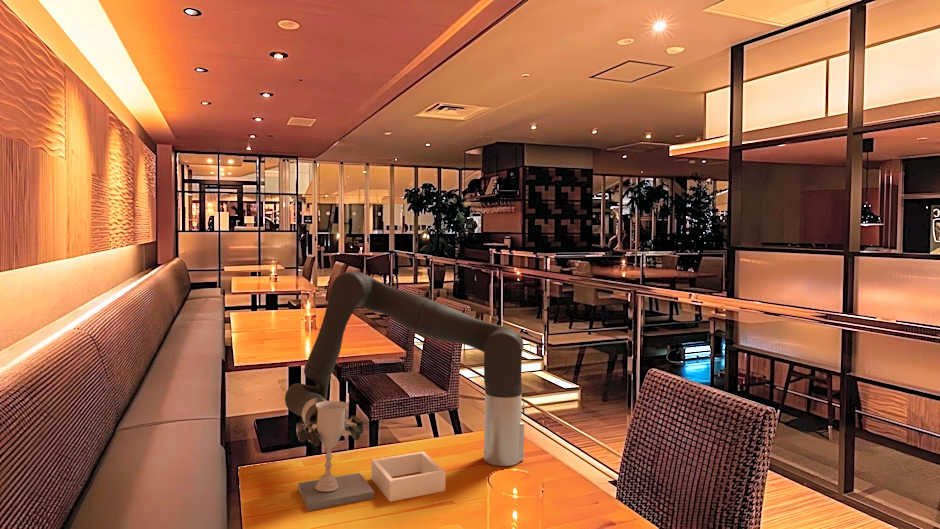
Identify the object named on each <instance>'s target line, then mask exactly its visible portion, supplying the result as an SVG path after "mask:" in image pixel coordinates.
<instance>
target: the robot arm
mask: <svg viewBox="0 0 940 529" xmlns="http://www.w3.org/2000/svg"><path fill="white" fill-rule="evenodd" d="M357 307H360V308H365V309H369V310H371V311H374V312H379V313H381V314H383V315H385V316H388V318H391V319H392V320H393V321H395V322H396V323H398V324H399V325H401V326H402V327H404V328H406V329H408V330H410V331H411V332H414V333H417V334H420V335H421V336H424V337H427V338H430V339H433V340H437V341H443V342H448V343H454V344H455V343H456V344H460V345H461V344H462V345H466V346H469V347H471V348H472V349H473V348H474V349H476V350H478V351H481V352H482V353H483V379H484V380H483V381H484V382H483V383H484V429H483V430H484V432H483V433H484V434H483V435H484V436H483V437H484V438H483V440H484V441H483V446H484V447H483V461H484V462H485V463H487V464H489V465H492V466H497V467H499V466H500V467H509V466H514V465H517V464H519V463H520V462H522V461H523V462H524V460H525V459H524V453H525V451H524V450H525V448H524V447H525V446H524V445H525V423H524V422H523V421H522V400H523V399H522V394H523V392H522V391H523V389H522V388H523V383H522V382H523V381H522V362H523V361H522V359H523V357H522V356H523V354H522V353H523V351H524V341H523V338H522V336H521V335H520V334H519V332H517V331H516V330H515V329H513V328H511V327H507V326H502V325H499V324H496V323H491V322H487V321H484V320H481V319H478V318H475V317H473V316H470V315H468V314H466V313H464V312H462V311H459V310H458V309H455V308H453V307H451V306H448V305H446V304H444V303H441V302H438V301H436V300H433V299H431V298H428V297H425V296H422V295H418V294H416V293H412V292H408V291H405V290H401V289H398V288H394V287H392V286H390V285H387V284H385V283H383V282H381V281H379V280H377V279H375V278H373V277H371V276H369V275H367V274H365V273H363V272H361V271H346V272H343V273H340V274H339V275H337V276H336V277H335V278H334V279H333V282H332V284H331V287H330V291H329V296H328V300H327V305H326V309H325V312H324V316H323V318H322V323H321V326H320V328H319V331H318V335H317V336H316V339H315V341H314V344H313V347H312V349H311V352H310V354H309V356H308V358H307V360H306V363H305V366H304V368H303V374H304V376H305V377H306V378H308V379H309V380H312V381H313V382H315V383H317V385H316V386H313V385H307V384H304V383H302V382H301V383H299V382H298V383H293V384H291V385H290V386H289V388H288V389H287V390H286V392H285V395H284V403H285V406H286V408H287V409H288V410H289V411H290V412H292V413H293V414H295V415H297V416H299V417H301V419H302V421H303V422H297V423H296V424H295V425H296V426H295V427H296V428H295V429H296V437H297V439H298V442H300V443H304V442H306V440H307V441H308V442H310V443H311V445H314V446H315V447H319V446H320V437H319V434H318V430H317V417H318V409H317V407H316V404H317V403H319V402H324V401H328V389H329V384H330V380H331V375H332V373H333V371H334V368H335V366H336V363H337V361H338V358H339V357H340V356H339V355H340V353H341V349H342V345H343V338H344V333H345V331H346V327H347V325H348V323H349V320H350V318H351V316H352V314H353V313H354V312H355V310H356V308H357ZM361 434H364V421H363V420H361V418H359V417H358V416H357V415H351V416H350V419H346V418H345V424H344V429H343V432H342V435H341V437H342V436H343V437H345V436H351V437H352V439H353V440H354V441H358V440H360V438H361Z"/></svg>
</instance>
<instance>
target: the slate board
mask: <svg viewBox="0 0 940 529" xmlns="http://www.w3.org/2000/svg"><path fill="white" fill-rule="evenodd" d="M335 478H336V481H337V484H338V486H339V488H338V489H336V490H334V491H327V492H325V491H318V490H316V489H315V486H316V485H317V482H318V480H319V479H316V480H315V479H314V480H309V481H303V482H299V483H297V490H298V494H299V495H300V497H301V499H302V500H303V503H304V504H305V507H306V508H307V510H308V512H311V511H316V510H321V509H327V508H331V507H336V506H341V505H342V506H343V505H347V504H351V503H357V502H363V501H367V500H371V499H375V491H374V489H373V488H372V487H371V485H370V484H369V483H368V482H367V480H366V479H365V478H364V477H363V475H362V474H361V472H356V473H351V474H346V475H345V474H344V475H340V476H335Z"/></svg>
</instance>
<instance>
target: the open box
mask: <svg viewBox="0 0 940 529" xmlns="http://www.w3.org/2000/svg"><path fill="white" fill-rule="evenodd" d="M415 473H417V474H415ZM446 473H447V472H446V470H445V469H444V468H443V467H442V466H441V465H440V464H438V463H437V462H436V461H435V460H434V459H433V458H432V457H431V456H429V455H428V454H427V452H425V451H423V450H422V451H417V452H411V453H405V454H399V455H393V456H388V457H387V456H386V457H382V458H381V457H380V458H375V459H374V458H373V459H371V472H370V477H371V478H370V479H371V481H372V482H373V483H374V484H375V485H376V486H377V488H378V489H379V490H380V491H381V493H382V495H383V496H385V498H386V499H387V500H388V501H389V502H395V501H401V500H405V499H411V498H416V497H421V496H426V495H431V494H437V493H441V492H445V491H446V485H447V484H446V480H447V479H446V477H447V476H446V475H447V474H446ZM410 474H413V475H410ZM406 475H407V476H406ZM399 476H400V477H399ZM394 477H396V478H394Z"/></svg>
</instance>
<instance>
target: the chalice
mask: <svg viewBox="0 0 940 529" xmlns="http://www.w3.org/2000/svg"><path fill="white" fill-rule="evenodd" d="M316 407H317V409H318V417H317V430H318V434H319V437H320V439H319V441H320V442H321V444H322V446H323V447H324V448H326V454H325V455H324V457H325V460H326V461H325V463H324V464H323V467H325V471H324V472H325V473H324V474H322V475H320V477H319V478H318V479H317V480H318V482H317V485H316V486H315V489H316V490H318V491H325V492H327V491H334V490H336V489H338V488H339V486H338V484H337V481H336V478H335V477H336V476H335V475H333V474H332V473H331V468H332V466H333V464H332V462H331V460H332V458H333V454H332V449H333V448H334V447H336V446H337V444H338V442H339V441H340V439H341V437H342V432H343V429H344V424H345V419H346V410H347V408H348V407H349V404H348V403H347V402H345V401H339V400H327V401H324V402H319V403H317V404H316Z"/></svg>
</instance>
